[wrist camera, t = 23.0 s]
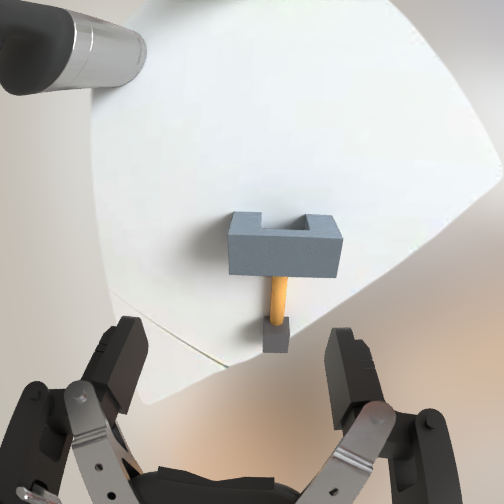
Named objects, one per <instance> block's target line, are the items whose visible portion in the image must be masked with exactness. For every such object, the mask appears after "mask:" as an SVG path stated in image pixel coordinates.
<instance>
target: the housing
mask: <svg viewBox="0 0 504 504" xmlns="http://www.w3.org/2000/svg"><path fill="white" fill-rule="evenodd" d="M261 215H262V212H234V214H233V218H232V221H231V225H230V228H229V232H228V256H229V275H250V276H278V277H313V278H336V276H337V271H338V265H339V260H340V255H341V249H342V243H343V237H342V235H341V233H340V231H339V229H338V227H337V225H336V223H335V220H334V218H333V216H330V215H311V214H306V218H305V228H304V230H287V229H261Z"/></svg>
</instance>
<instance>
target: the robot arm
mask: <svg viewBox="0 0 504 504" xmlns="http://www.w3.org/2000/svg"><path fill="white" fill-rule="evenodd" d="M145 59H146V45H145V42H144V40H143V39H142V37H141V36H140V35H139V34H138V33H136V32H134V31H131V30H129V29H126V28H124V27H121V26H118V25H116V24H113V23H110V22H107V21H104V20H101V19H98V18H95V17H92V16H88V15H85V14H82V13H78V12H74V11H70V10H66V9H62V8H58V7H53V6H48V5H42V4H37V3H31V2H26V1H21V0H0V84H1V85H2V87H3V88H4V89H5V90H6V91H7V92H8V93H10V94H13V95H18V96H21V95H29V94H36V93H42V92H51V91H58V90H68V89H81V88H102V87H118V86H122V85H124V84H127V83H128V82H130V81H131V80H132V79H134V78H135V77H136V76H137V74H138V73H139V72H140V70H141V69H142V67H143V65H144V62H145ZM147 354H148V340H147V337H146V334H145V331H144V328H143V324H142V321H141V319H140V318H139V317H130V316H122V317H121V319H120V321H119V323H118V325H117V327H116V326H111V327H110V328H109V329H108V330H107V331H106V332H105V333H104V334H103V336H102V338H101V340H100V342H99V345H97V347H96V349H95V352H94V353H93V355H92V357H91V360H90V362H89V363H88V365H87V368H86V370H85V372H84V374H83V376H82V378H81V380H78V381H74V382H72V383H71V384H70V385H69V386H68V387H67V388H66V389H48V388H47V387H46V385H45V384H44V383H42V382H40V381H34V382H31V383H30V384H28V385H27V386H26V387H25V389H24V390H23V392H22V395H21V397H20V399H19V401H18V404H17V406H16V408H15V411H14V413H13V415H12V418H11V420H10V423H9V425H8V428H7V431H6V434H5V436H4V439H3V441H2V445H1V447H0V504H62V503H61V501H60V499H59V498H58V494H59V489H60V485H61V480H62V477H63V473H64V468H65V464H66V461H67V457H68V453H69V450H70V447H71V444H72V449H73V452H74V455H75V458H76V461H77V464H78V467H79V470H80V472H81V475H82V478H83V480H84V483H85V485H86V488H87V490H88V493H89V495H90V497H91V500H92V501H93V504H352V503H353V501H354V500H355V499H356V497H357V496H358V494H359V492H360V491H361V489H362V488H363V486H364V485H365V483H366V482H367V480H368V478H369V477H370V475H371V473H372V470H373V468H372V466H373V464H374V462H375V460H376V459H377V457H381V458H388V464H389V472H390V482H391V493H392V504H463V503H462V495H461V489H460V483H459V478H458V472H457V467H456V463H455V457H454V453H453V449H452V444H451V440H450V436H449V432H448V428H447V425H446V421H445V418H444V416H443V415H442V414H441V413H440V412H439V411H437V410H435V409H431V408H429V409H424V410H422V411H421V412H420V413H419V414H418V415H414V414H406V413H401V412H397V411H395V410H394V409H393V408H392V407H391V406H390V405H389V404H388V403H386V402H385V400H384V397H383V393H382V390H381V386H380V382H379V379H378V376H377V372H376V369H375V365H374V362H373V361H372V356H371V353H370V349H369V347H368V346H367V345H366V344H365V343H364V341H363V340H355V339H354V336H353V332H352V330H351V328H333V329H332V330H331V334H330V337H329V340H328V344H327V347H326V351H325V357H324V362H325V370H326V376H327V383H328V389H329V396H330V403H331V409H332V417H333V424H334V430H343V438H342V439H341V441H340V442H339V444H338V445H337V447H336V448H335V450H334V451H333V452H332V454H331V455H330V457H329V458H328V459H327V461H326V462H325V463H324V465H323V466H322V468H321V469H320V470H319V472H318V473H317V474H316V476H314V478H313V479H312V480H311V481H310V483H309V484H308V485H307V486H306V488H305V489H304V490H303V491H302V492H301V494H300V493H299V492H297V491H296V490H294V489H292V488H290V487H288V486H286V485H283V484H279V483H275V482H274V477H271V478H267V477H242V478H235V479H228V480H221V481H212V480H209V479H206V478H203V477H200V476H198V475H195V474H192V473H190V472H187V471H183V470H177V469H171V468H166V467H160V466H159V468H158V471H155V472H148V473H143V471H142V470H141V468H140V466H139V465H138V463H137V462H136V460H135V459H134V457H133V455H132V454H131V452H130V450H129V447H128V445H127V443H126V441H125V439H124V436H123V434H122V432H121V430H120V427H119V425H118V422H117V421H116V417H117V415H118V413H121V414H127V412H128V409H129V406H130V403H131V400H132V397H133V394H134V391H135V388H136V385H137V382H138V379H139V376H140V374H141V371H142V368H143V365H144V362H145V359H146V357H147ZM73 436H74V441H72V440H73Z"/></svg>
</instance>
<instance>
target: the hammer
mask: <svg viewBox="0 0 504 504" xmlns="http://www.w3.org/2000/svg"><path fill="white" fill-rule="evenodd" d="M287 278H288V277H278V276H273V278H272V295H271V311H270V317H268V316H264V330H263V352H264V353H287V351H288V344H289V337H290V329H289V317H284V309H285V299H286V289H287Z"/></svg>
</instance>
